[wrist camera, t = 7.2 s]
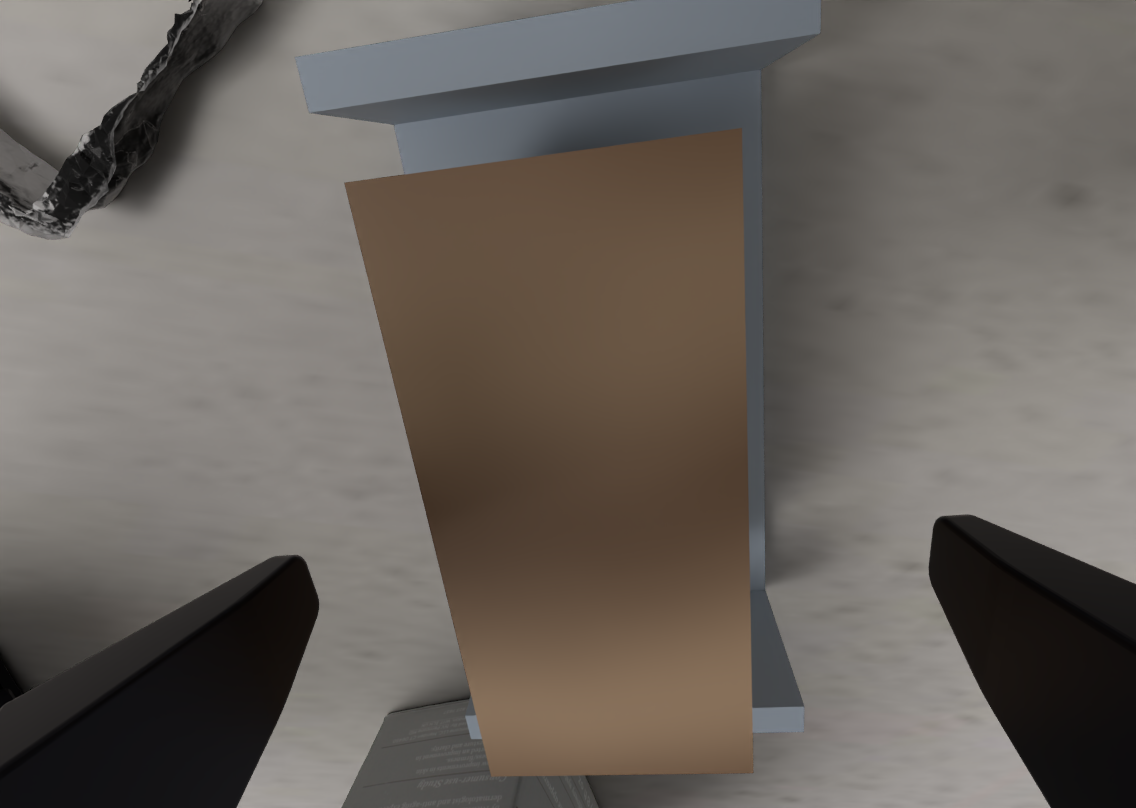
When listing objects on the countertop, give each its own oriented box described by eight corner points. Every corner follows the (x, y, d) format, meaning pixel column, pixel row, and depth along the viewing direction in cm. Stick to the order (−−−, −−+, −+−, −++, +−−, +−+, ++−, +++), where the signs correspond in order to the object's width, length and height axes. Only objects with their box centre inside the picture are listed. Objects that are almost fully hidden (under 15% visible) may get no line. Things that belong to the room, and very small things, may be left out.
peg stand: (757, 590, 19) (803, 731, 14) (505, 602, 20) (471, 739, 15) (750, 34, 13) (821, -32, 9) (400, 89, 14) (294, 57, 10)
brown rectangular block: (719, 620, 15) (753, 773, 11) (522, 628, 16) (491, 776, 12) (700, 137, 11) (742, 127, 7) (433, 174, 11) (344, 182, 8)
